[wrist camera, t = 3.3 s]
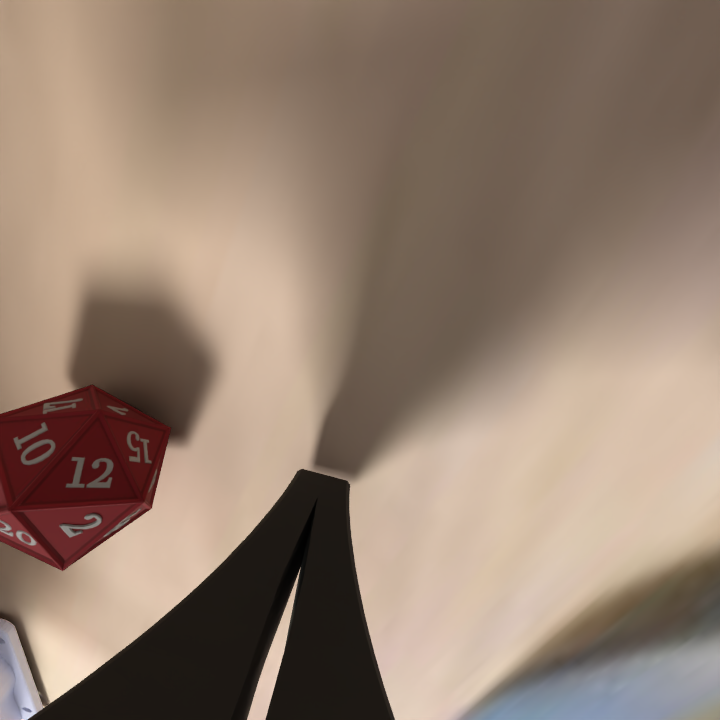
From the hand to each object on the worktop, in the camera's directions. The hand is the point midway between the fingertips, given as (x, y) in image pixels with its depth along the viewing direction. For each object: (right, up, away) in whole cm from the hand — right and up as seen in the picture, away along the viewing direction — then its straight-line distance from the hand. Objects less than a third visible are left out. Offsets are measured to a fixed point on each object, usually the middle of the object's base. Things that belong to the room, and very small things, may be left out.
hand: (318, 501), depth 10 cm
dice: (-6, +2, +1) cm, 6 cm away
